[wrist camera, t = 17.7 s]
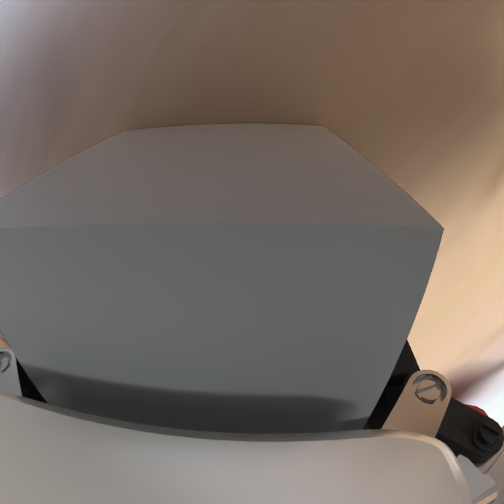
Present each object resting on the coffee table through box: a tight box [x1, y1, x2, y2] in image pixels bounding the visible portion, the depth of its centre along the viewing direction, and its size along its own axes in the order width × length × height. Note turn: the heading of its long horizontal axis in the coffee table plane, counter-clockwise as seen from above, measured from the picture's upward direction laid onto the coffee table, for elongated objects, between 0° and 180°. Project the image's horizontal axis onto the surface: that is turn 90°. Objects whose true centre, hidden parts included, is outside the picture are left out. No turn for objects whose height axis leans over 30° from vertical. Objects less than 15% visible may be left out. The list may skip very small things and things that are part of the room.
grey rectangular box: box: [0, 123, 444, 434], centre depth 10 cm, size 11×8×9 cm
